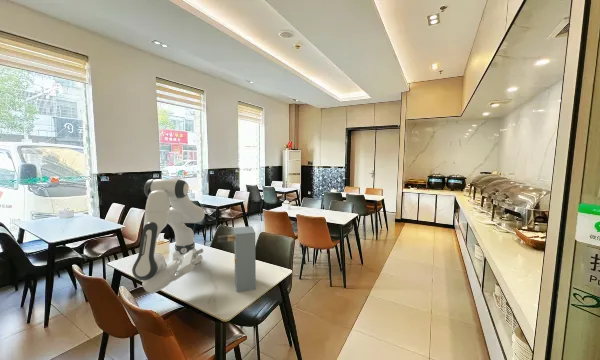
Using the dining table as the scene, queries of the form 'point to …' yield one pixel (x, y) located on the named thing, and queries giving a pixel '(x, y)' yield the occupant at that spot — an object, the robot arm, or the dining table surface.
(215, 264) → the dining table surface
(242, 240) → the cabinet
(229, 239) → the lever
